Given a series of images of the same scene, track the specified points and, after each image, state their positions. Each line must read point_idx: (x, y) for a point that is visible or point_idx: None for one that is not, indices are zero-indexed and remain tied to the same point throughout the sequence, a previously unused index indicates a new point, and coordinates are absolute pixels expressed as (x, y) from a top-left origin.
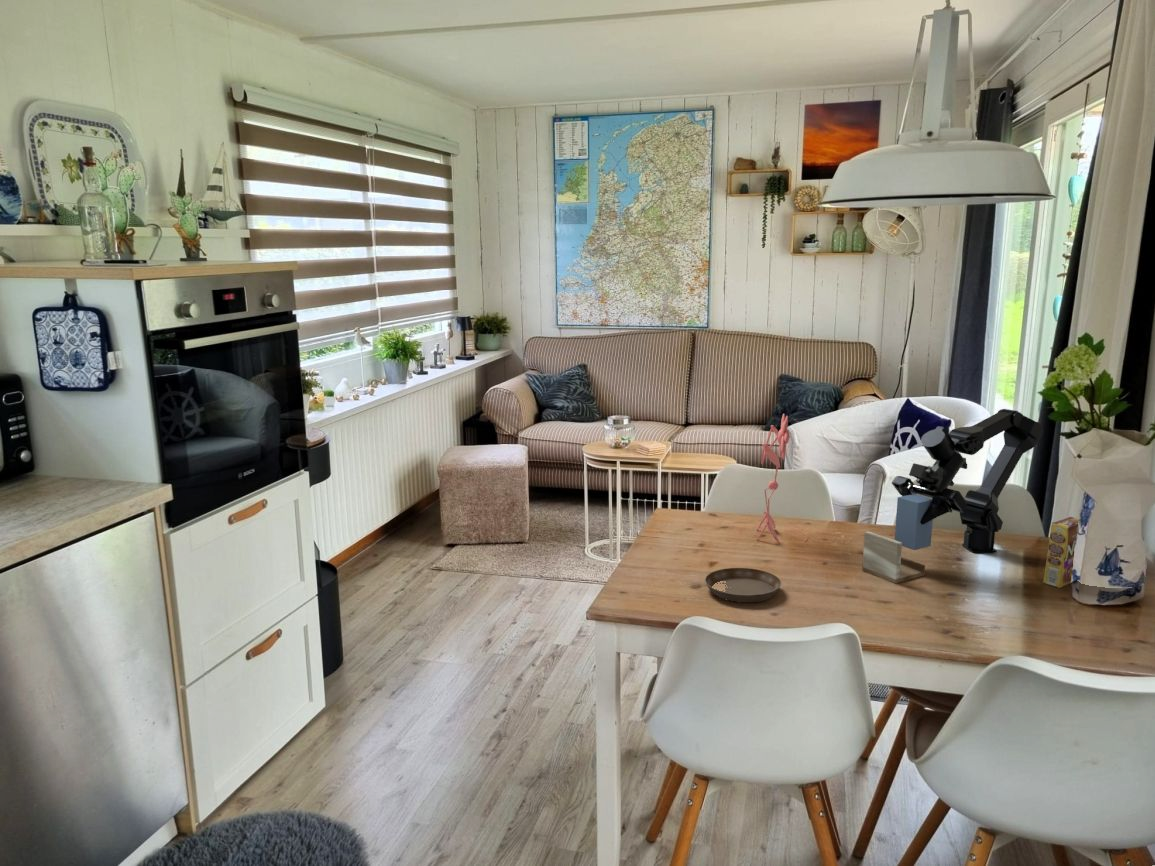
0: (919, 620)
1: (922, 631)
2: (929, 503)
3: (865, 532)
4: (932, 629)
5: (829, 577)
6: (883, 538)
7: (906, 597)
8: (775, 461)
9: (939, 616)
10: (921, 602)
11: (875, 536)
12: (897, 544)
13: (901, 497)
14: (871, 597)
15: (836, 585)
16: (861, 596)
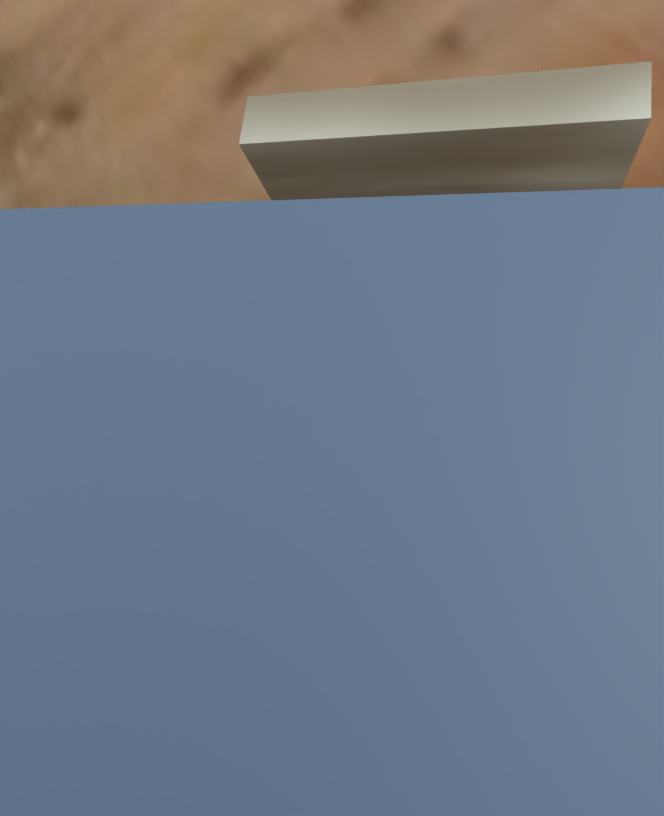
0: (77, 69)
1: (37, 19)
2: None
3: (643, 66)
4: (21, 56)
5: (606, 50)
6: (404, 90)
7: (208, 184)
8: None
9: (43, 151)
10: (142, 195)
11: (496, 77)
12: (251, 102)
13: (581, 278)
14: (305, 61)
15: (499, 17)
16: (339, 33)
